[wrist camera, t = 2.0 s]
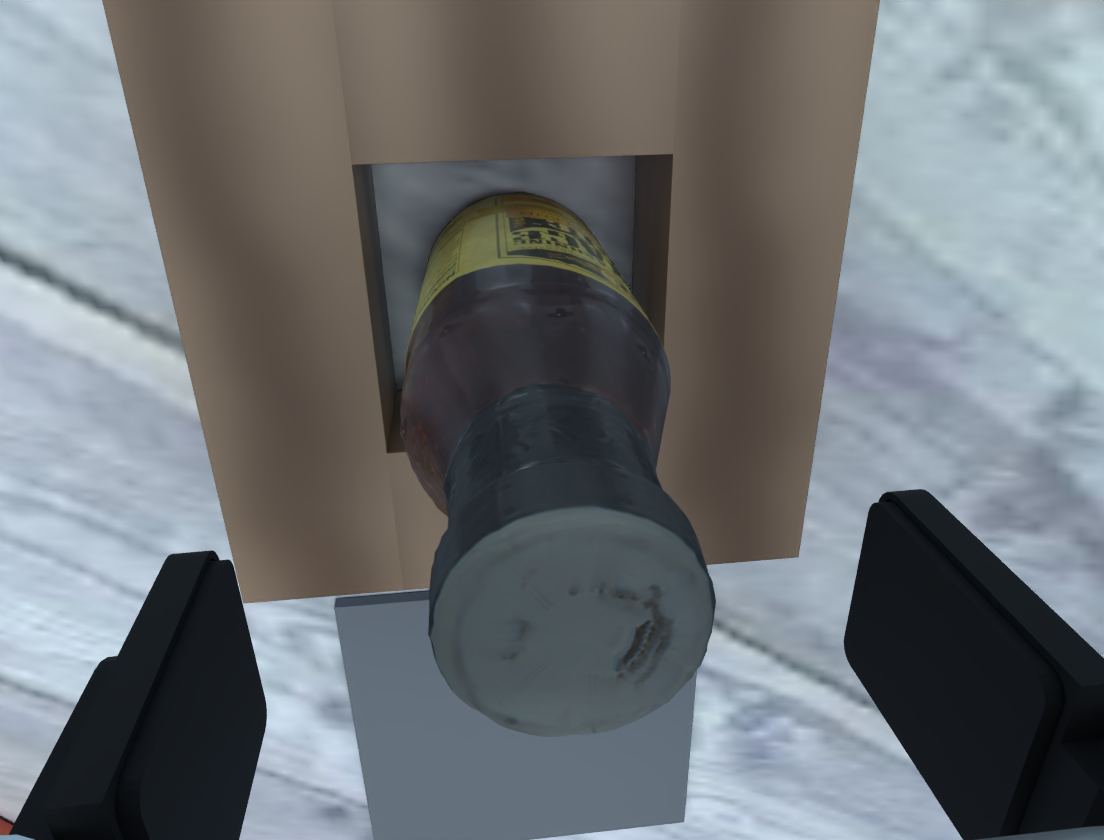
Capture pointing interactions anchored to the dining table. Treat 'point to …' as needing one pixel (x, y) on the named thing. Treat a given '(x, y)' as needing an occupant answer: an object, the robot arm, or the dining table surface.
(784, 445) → the holder block
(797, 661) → the dining table surface
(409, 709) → the rubber mat
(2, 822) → the cracker box
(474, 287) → the sauce bottle
